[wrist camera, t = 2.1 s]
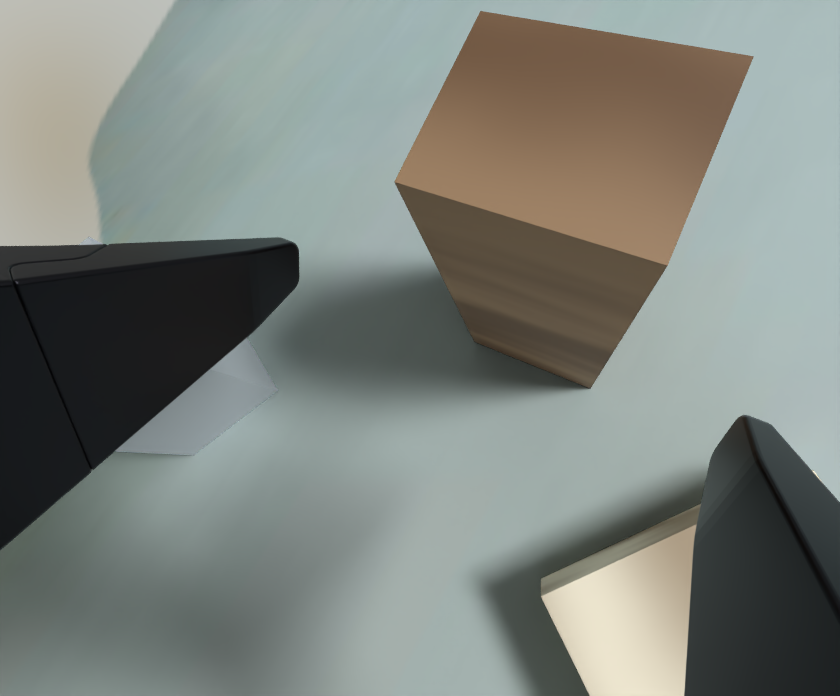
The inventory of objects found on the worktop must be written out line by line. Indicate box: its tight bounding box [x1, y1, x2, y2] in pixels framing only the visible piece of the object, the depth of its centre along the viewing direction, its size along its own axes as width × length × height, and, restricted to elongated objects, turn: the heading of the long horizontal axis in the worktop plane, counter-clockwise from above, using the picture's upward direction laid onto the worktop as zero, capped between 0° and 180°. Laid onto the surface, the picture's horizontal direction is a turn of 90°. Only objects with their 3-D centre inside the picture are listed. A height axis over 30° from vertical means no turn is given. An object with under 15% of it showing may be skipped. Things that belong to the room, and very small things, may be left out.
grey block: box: [79, 237, 278, 455], centre depth 19 cm, size 5×5×8 cm
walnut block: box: [395, 11, 754, 388], centre depth 14 cm, size 4×5×12 cm
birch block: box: [541, 470, 822, 696], centre depth 15 cm, size 9×9×3 cm
